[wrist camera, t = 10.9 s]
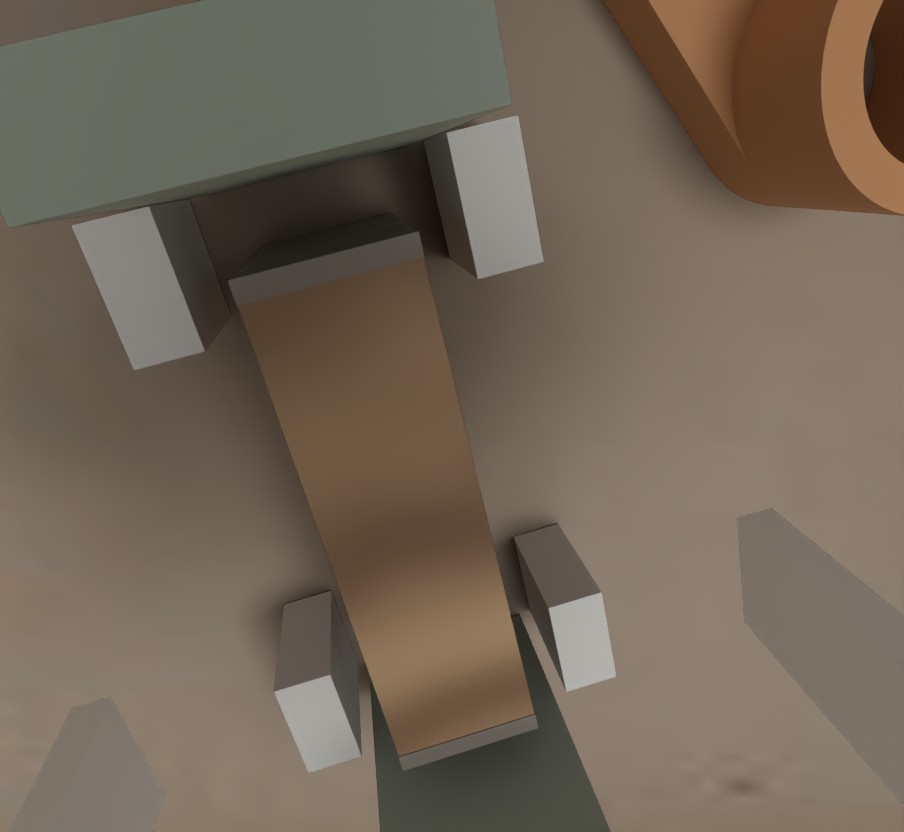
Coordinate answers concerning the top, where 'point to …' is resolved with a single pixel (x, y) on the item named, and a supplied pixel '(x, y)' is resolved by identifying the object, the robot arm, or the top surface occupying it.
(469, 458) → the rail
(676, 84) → the bracket
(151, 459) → the top surface
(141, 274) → the green fixture with posts
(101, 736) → the robot arm
